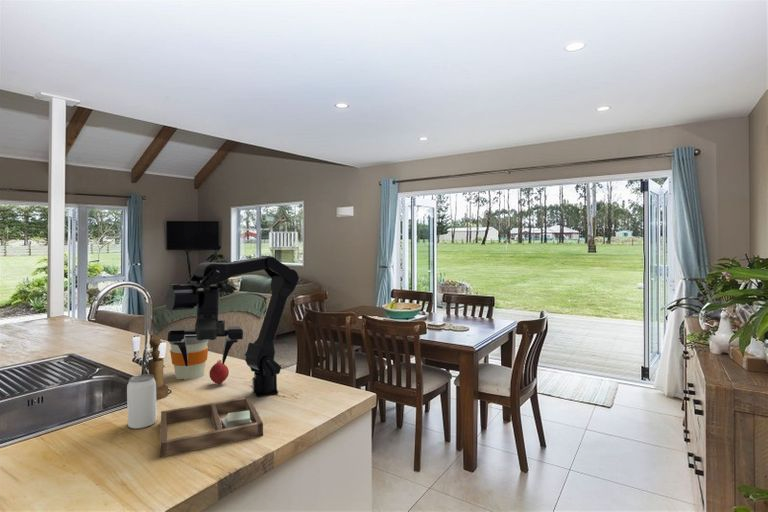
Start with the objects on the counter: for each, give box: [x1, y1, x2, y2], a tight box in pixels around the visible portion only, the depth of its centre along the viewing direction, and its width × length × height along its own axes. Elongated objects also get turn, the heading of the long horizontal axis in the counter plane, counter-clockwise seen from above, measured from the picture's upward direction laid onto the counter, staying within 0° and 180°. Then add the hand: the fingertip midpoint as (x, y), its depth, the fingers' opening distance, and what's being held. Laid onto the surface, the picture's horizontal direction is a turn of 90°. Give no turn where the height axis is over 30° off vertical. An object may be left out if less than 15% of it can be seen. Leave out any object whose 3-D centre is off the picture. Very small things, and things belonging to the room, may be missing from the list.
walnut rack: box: [159, 396, 264, 458], centre depth 106 cm, size 22×19×3 cm
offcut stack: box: [220, 410, 252, 429], centre depth 104 cm, size 7×6×4 cm
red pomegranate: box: [208, 359, 229, 385], centre depth 137 cm, size 6×6×8 cm
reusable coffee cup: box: [168, 328, 209, 381], centre depth 146 cm, size 13×13×15 cm
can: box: [126, 373, 158, 430], centre depth 108 cm, size 6×6×12 cm
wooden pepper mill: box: [147, 336, 169, 400], centre depth 127 cm, size 7×6×18 cm
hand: (205, 365), depth 116 cm, fingers open, 9 cm apart
